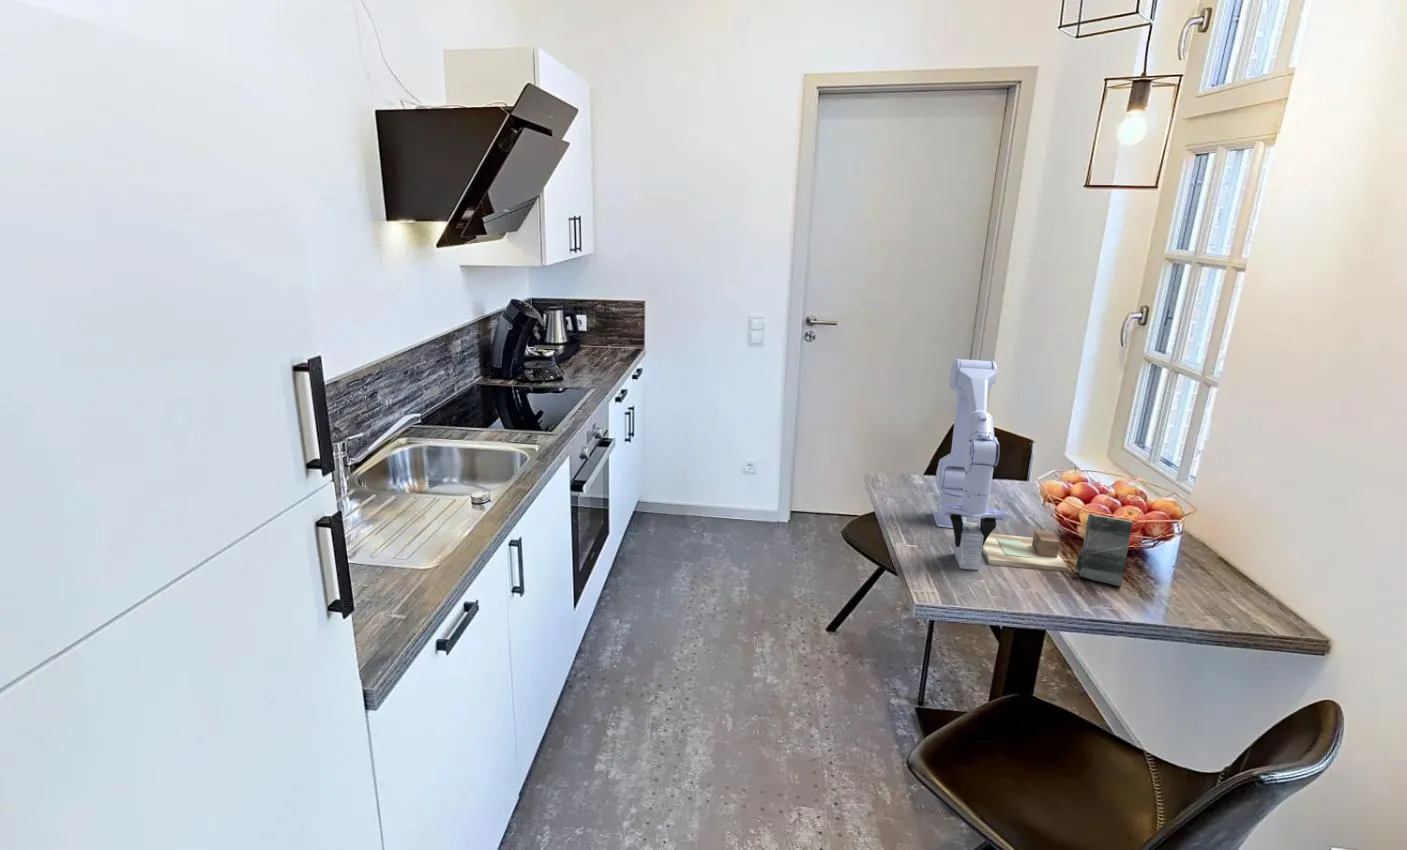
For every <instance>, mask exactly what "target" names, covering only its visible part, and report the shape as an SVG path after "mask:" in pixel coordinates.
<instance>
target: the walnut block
mask: <svg viewBox="0 0 1407 850" xmlns="http://www.w3.org/2000/svg"><path fill="white" fill-rule="evenodd" d="M1032 538H1033V542H1032V546H1033V548H1034V549H1035V551H1036V552H1037V554H1038V556H1045V557H1054V558H1057V555H1058V554H1059V547H1060V541H1059V539H1058V538H1057V536H1056V535H1055V533H1054V532H1053V531H1047V530H1038V529H1037V530H1034V531H1033V537H1032Z"/></svg>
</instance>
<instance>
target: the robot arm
mask: <svg viewBox="0 0 1407 850" xmlns="http://www.w3.org/2000/svg"><path fill="white" fill-rule="evenodd" d="M997 365H998V364H997V363H996V362H995V360H977V359H963V358H962V359H960V358H955V359H954V360H953V361H952V365H951V369H950V378H949V386H950V387H949V388H950V390H952V391H955V392H956V405H955V406H956V407H955V412H954V413H955V416H954V422H953V432H952V442H951V449H950V453H948V454H947V455H945V456H943V457H942V458H939V460H938V463H937V464H938V465H937V469H936V472H935V486H936V488H937V489H938V490H940V491H939V494H938V500H937V509H936V511H933V512H932V515H933V517H934V521H935V524H936V526H937V527H940V528H948V529H949V528H950V529H952V530H953V534H954V547H955V546H956V547H959V546H960V536H961V530H962V526H963V522H967V518H971V519H975V520H977V519H979V520H980V523H979V525H980V527H979V528H980V530H981V532H982V534H983V536H984V537H983V545H982V548H983V546H984V543H985V541H986V539H987V538H988V536H989V535H990V533H991V534H992V532H993V531H994V530H995V529H996V527H997V521H1001V522H1003V523H1007V522H1008V518H1009V513H1008V511H1006V510H1000V509H995V508H990V507H989V502H990V495H991V488H992V481H993V475H994V474H993V473H994V468H995V467H997V466H998V463H999V459H1000V443H999V441H998V437H996V436H995V429H994V428H995V427H994V418H993V416H992V415H991V414H990V413H989V412H988V397H989V396H988V395H989V393H988V391H989V390H991V389H992V387H993V386H994V385H995V383H996V380H997V375H998V366H997Z"/></svg>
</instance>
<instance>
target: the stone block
mask: <svg viewBox="0 0 1407 850" xmlns="http://www.w3.org/2000/svg"><path fill="white" fill-rule="evenodd" d="M1132 527H1133V521H1132V520H1128V519H1122V518H1116V517H1111V516H1104V515H1099V514H1093V513H1089V515H1088V517H1087V521H1086V528H1085V535H1084V538H1083V539H1084V540H1083V545H1082V549H1081V550H1080V551H1079V553H1078V556H1077V560H1076V567H1077V571H1078V573H1079V576H1080V577H1082V578H1085V579H1089V580H1092V581H1096V582H1100V583H1105V584H1109V585H1114V586H1118V587H1122V582H1123V579H1124V572H1125V567H1126V560H1127V556H1128V555H1127V554H1128V551H1129V543H1130V538H1131V533H1132Z"/></svg>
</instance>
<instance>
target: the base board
mask: <svg viewBox="0 0 1407 850" xmlns="http://www.w3.org/2000/svg"><path fill="white" fill-rule="evenodd" d="M1032 542H1033V537H1028V536H1020V535H1019V536H1018V535H1009V534H998V533H992V532H991V533H990V535H989V536H988V538H987V539H986V541H985V543H984V546H983V548H982V553H983V556H984V558H985V559H986V562H987V563H988V565H991V566H1002V567H1003V566H1004V567H1012V568H1024V569H1032V570H1033V569H1035V570H1044V571H1055V572H1056V571H1057V572H1065V573H1066V572H1067V573H1068V571H1069V567H1068V565H1067V564H1066V562H1064V559H1063V558H1062V557H1061V556H1060V554H1059V553H1058V555H1057V558H1054V557H1045V556H1038V554H1037V552H1036V551H1035V549H1034V548H1033V546H1032Z"/></svg>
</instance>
